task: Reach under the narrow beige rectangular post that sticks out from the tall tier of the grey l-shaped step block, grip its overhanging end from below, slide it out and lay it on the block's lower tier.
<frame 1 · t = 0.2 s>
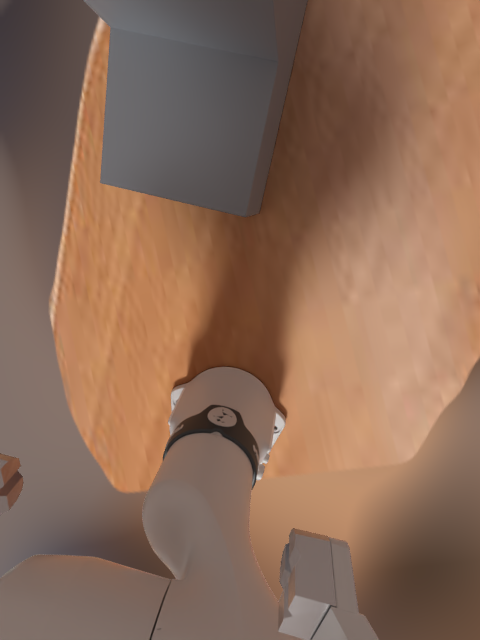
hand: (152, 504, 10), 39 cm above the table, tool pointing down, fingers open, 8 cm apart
grey l-shaped step block: (225, 97, 41), on the table
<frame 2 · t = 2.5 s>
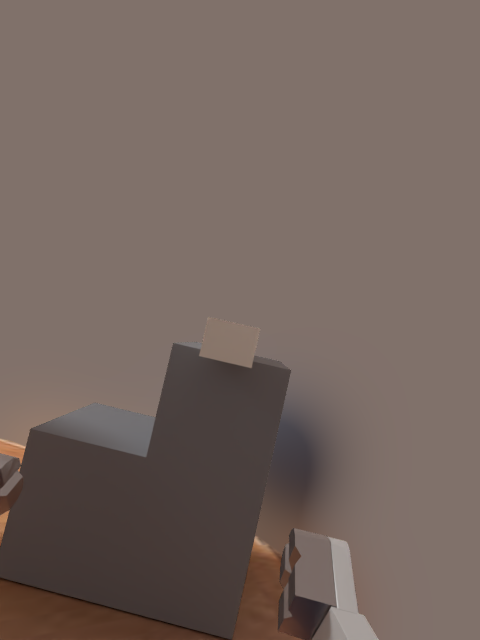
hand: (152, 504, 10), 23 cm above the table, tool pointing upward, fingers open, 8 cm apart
beige rectangular post: (232, 355, 36), point 26 cm above the table, touching grey l-shaped step block
grey l-shaped step block: (135, 560, 40), on the table
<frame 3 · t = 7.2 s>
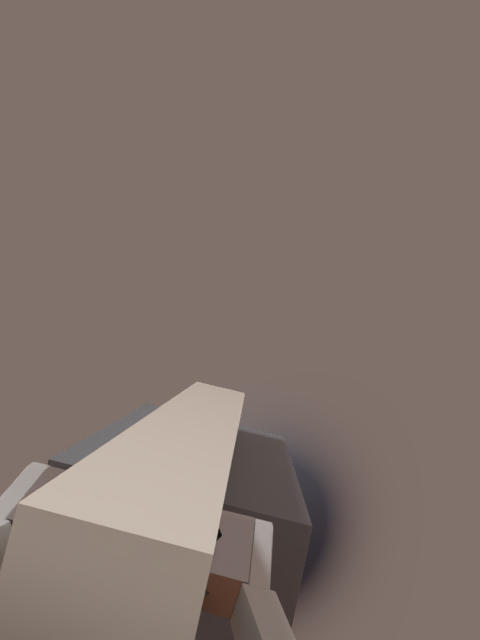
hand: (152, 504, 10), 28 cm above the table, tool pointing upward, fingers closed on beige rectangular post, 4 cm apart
beige rectangular post: (186, 474, 17), point 26 cm above the table, touching gripper, grey l-shaped step block
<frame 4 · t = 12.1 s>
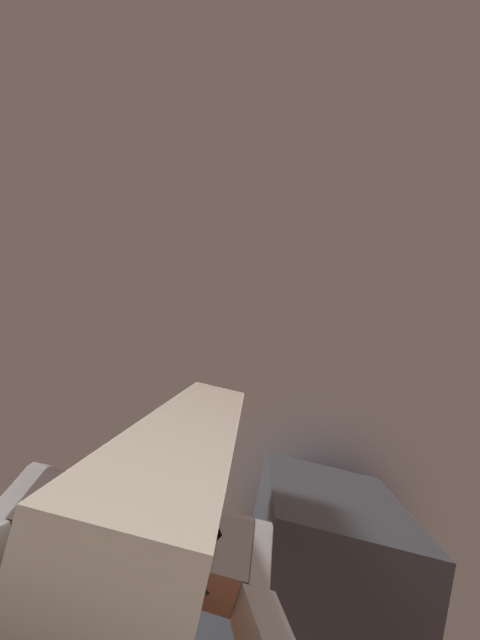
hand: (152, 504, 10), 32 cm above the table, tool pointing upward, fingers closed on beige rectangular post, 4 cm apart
beige rectangular post: (185, 474, 17), point 30 cm above the table, touching gripper
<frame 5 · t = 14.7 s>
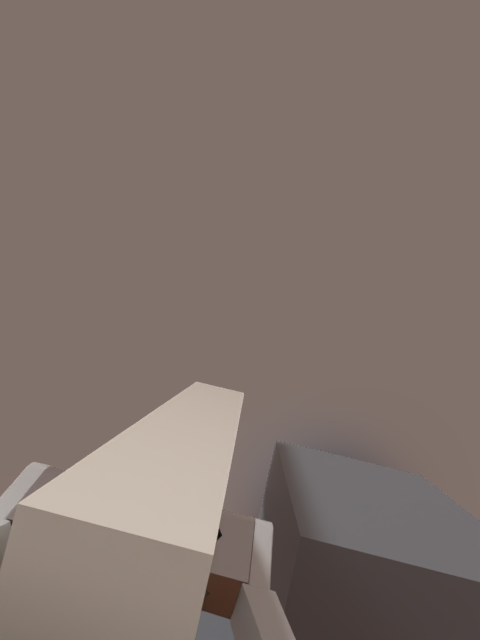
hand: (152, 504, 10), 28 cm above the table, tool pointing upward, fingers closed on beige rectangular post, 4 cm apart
beige rectangular post: (185, 474, 17), point 26 cm above the table, touching gripper
when the fingers open (19 cm above the table, at t = 17.0 s): beige rectangular post drops 2 cm, resting on grey l-shaped step block.
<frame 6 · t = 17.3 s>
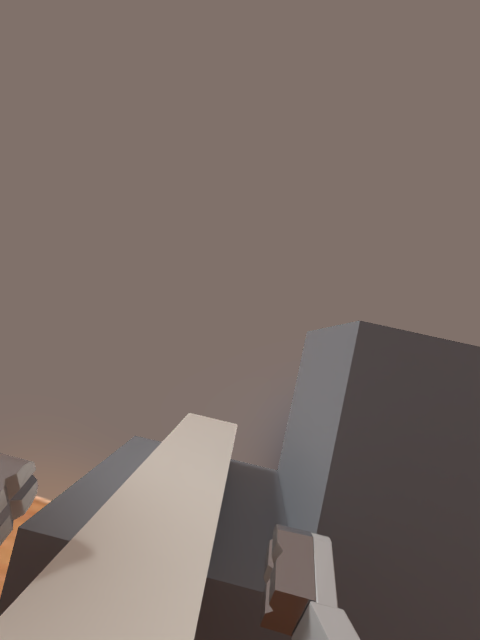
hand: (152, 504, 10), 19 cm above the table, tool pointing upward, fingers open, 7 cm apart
beige rectangular post: (173, 526, 17), point 14 cm above the table, touching grey l-shaped step block
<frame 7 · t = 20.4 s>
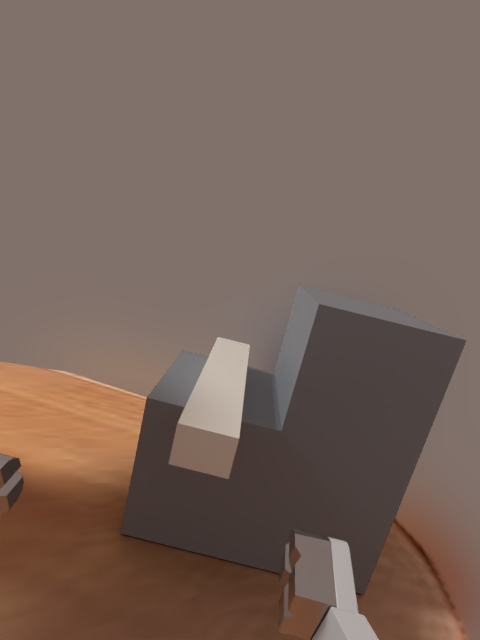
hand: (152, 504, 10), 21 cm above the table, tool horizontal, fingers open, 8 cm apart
beige rectangular post: (218, 400, 32), point 14 cm above the table, touching grey l-shaped step block
grey l-shaped step block: (244, 509, 39), on the table
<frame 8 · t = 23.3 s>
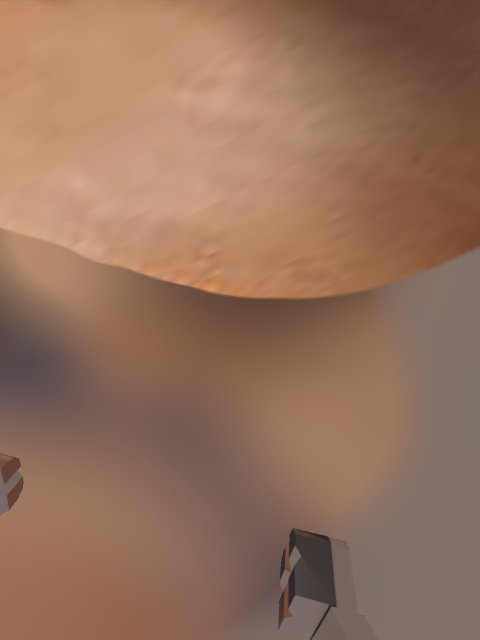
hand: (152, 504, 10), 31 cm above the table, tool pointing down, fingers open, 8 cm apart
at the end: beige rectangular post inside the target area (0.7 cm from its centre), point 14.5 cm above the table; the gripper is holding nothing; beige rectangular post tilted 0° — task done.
